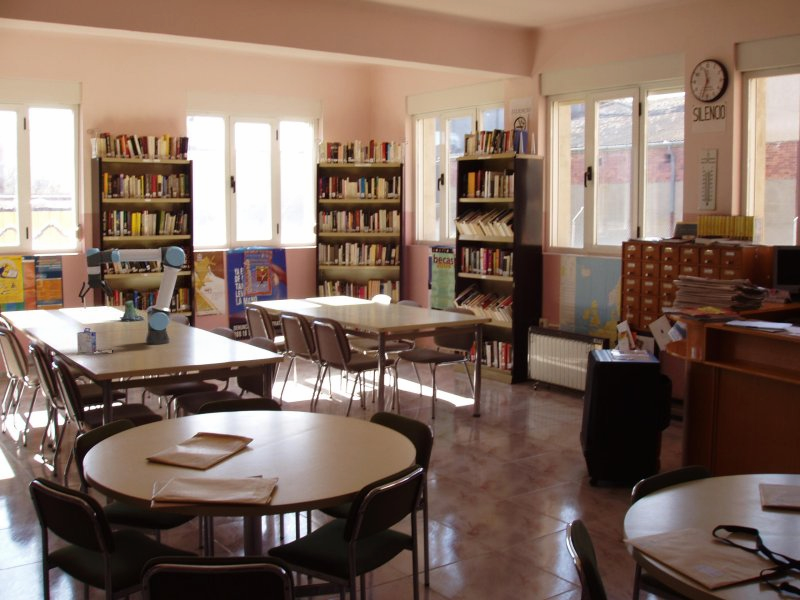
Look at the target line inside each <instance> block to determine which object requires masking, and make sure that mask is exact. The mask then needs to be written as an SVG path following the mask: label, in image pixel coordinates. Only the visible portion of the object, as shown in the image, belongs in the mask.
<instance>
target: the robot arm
mask: <svg viewBox="0 0 800 600" xmlns="http://www.w3.org/2000/svg"><path fill="white" fill-rule="evenodd" d="M85 255H86V257H85V258H86V266H87V267H86V269H87V281H83V282H82V286H81V288H80V291H79V294H78V298H81V303H82V304H83V308H84V309H86V308H87V306H86V305H87V304H86V297H85V296H87V294H88V293H89V291H90V290H91V289H93V290H94V289H100V290H101V291H102V292H103V293H104V294H105V295H106V302H107V303H106V305H107V308H109V307H110V302H111V296H113V295H114V293H113V291H112V290H111V288H110V286H109V284H108V281H107V280H106V279H105V280H102V275H101V264H116V263H120V262H159V263H163V264H162V267H163V268H164V269H163V274H162V278H161V281H160V284H159V285H160V286H159V289H158V293H157V298H156V302H155V305H153V306H152V307H150V308H147V311H146V314H147V315H146V317H147V333H146V337H145V344H146V345H164V344H169V343H170V342H171V341H170V337H169V334H168V331H167V327H168V326H169V325H170V315H171V312H172V311H171V308H170V306H171V301H172V298H173V294H174V290H175V286H176V282H177V277H178V274H179V272H180V271H182V267H183V265H184V264H183V263H184V262H185V260H186V253H185V251H184V249H182V248H181V247H179V246H175V245H171V246H167V247H164V246H163V247H158V248H150V249H149V248H145V249H144V248H141V249H139V248H138V249H105V250H103V251H101V250H100V249H99V248H96V247H95V248H94V247H93V248H91V247H90V248H87V249H86V252H85ZM102 284H103V285H104V286H105V287H106V289H105V288H104V287H103V286H102ZM87 285H88V288H87V289H86V290H85V287H86V286H87ZM84 290H85V291H84ZM83 291H84V293H83Z"/></svg>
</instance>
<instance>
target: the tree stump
mask: <svg viewBox="0 0 800 600" xmlns="http://www.w3.org/2000/svg"><path fill="white" fill-rule="evenodd" d="M119 319H121V320H122V321H123V322H139V321H140V322H141V321H145V320H146V318H145V317H143V316H141V314H139V313H138V311H136V308H135V306H134V300H127V301H125V303H124V313H123V316H120V317H119Z"/></svg>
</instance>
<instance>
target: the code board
mask: <svg viewBox="0 0 800 600" xmlns="http://www.w3.org/2000/svg"><path fill="white" fill-rule="evenodd" d="M107 349H108V348H107ZM107 349H96V351H98V352H100V353H108V352H102V351H105V350H107ZM77 354H86V355H95V354H94V352H93V353H87V352H78V351H77Z"/></svg>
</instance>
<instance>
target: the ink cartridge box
mask: <svg viewBox="0 0 800 600" xmlns="http://www.w3.org/2000/svg"><path fill="white" fill-rule="evenodd" d="M76 333H77V334H76V336H77V337H76V339H77V342H76V343H77V353H78V352H87V353H93V352H96V350H97V332H96V331H91V328H90V327H85V328H84V330H83V331H79V332H76Z"/></svg>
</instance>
